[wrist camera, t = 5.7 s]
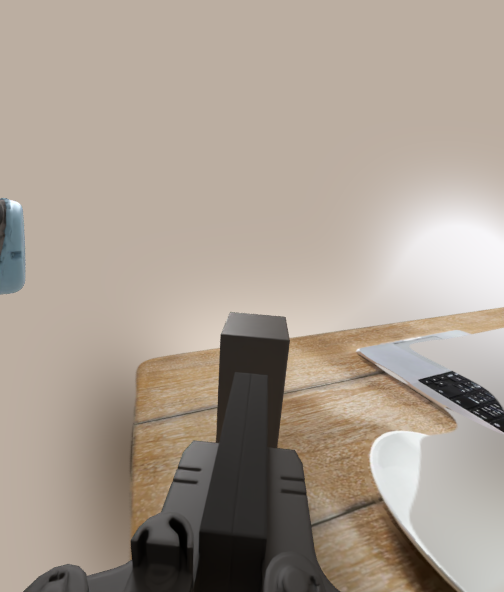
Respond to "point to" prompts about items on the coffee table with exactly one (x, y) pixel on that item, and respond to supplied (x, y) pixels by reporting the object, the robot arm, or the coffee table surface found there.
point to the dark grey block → (254, 362)
